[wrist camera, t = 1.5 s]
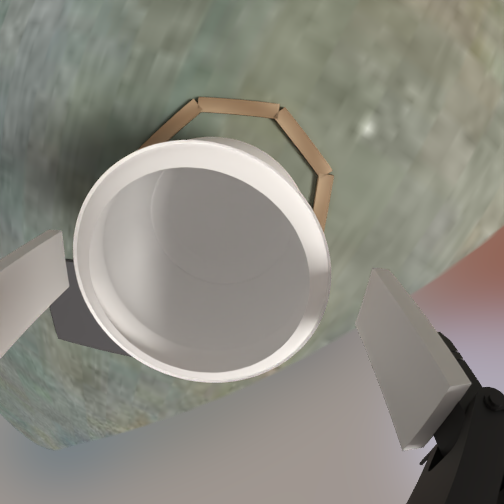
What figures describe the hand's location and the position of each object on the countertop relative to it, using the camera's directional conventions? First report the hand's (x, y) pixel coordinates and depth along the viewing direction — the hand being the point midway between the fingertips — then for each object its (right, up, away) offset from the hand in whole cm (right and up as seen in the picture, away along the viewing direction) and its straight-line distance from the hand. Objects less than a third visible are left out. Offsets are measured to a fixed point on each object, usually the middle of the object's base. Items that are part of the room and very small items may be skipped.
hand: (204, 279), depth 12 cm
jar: (0, +5, +13) cm, 15 cm away
